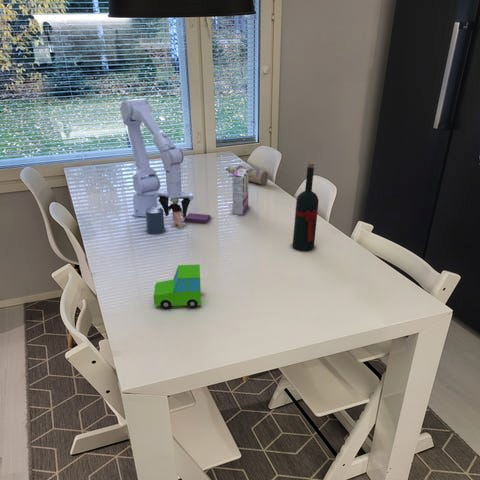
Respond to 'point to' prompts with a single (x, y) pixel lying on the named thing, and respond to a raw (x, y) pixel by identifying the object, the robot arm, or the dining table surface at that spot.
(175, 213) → the grandmother figurine
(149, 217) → the tin can
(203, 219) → the purple box
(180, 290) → the toy car
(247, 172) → the candy bar box
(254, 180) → the decorative bottle
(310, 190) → the wine bottle
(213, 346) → the dining table surface
